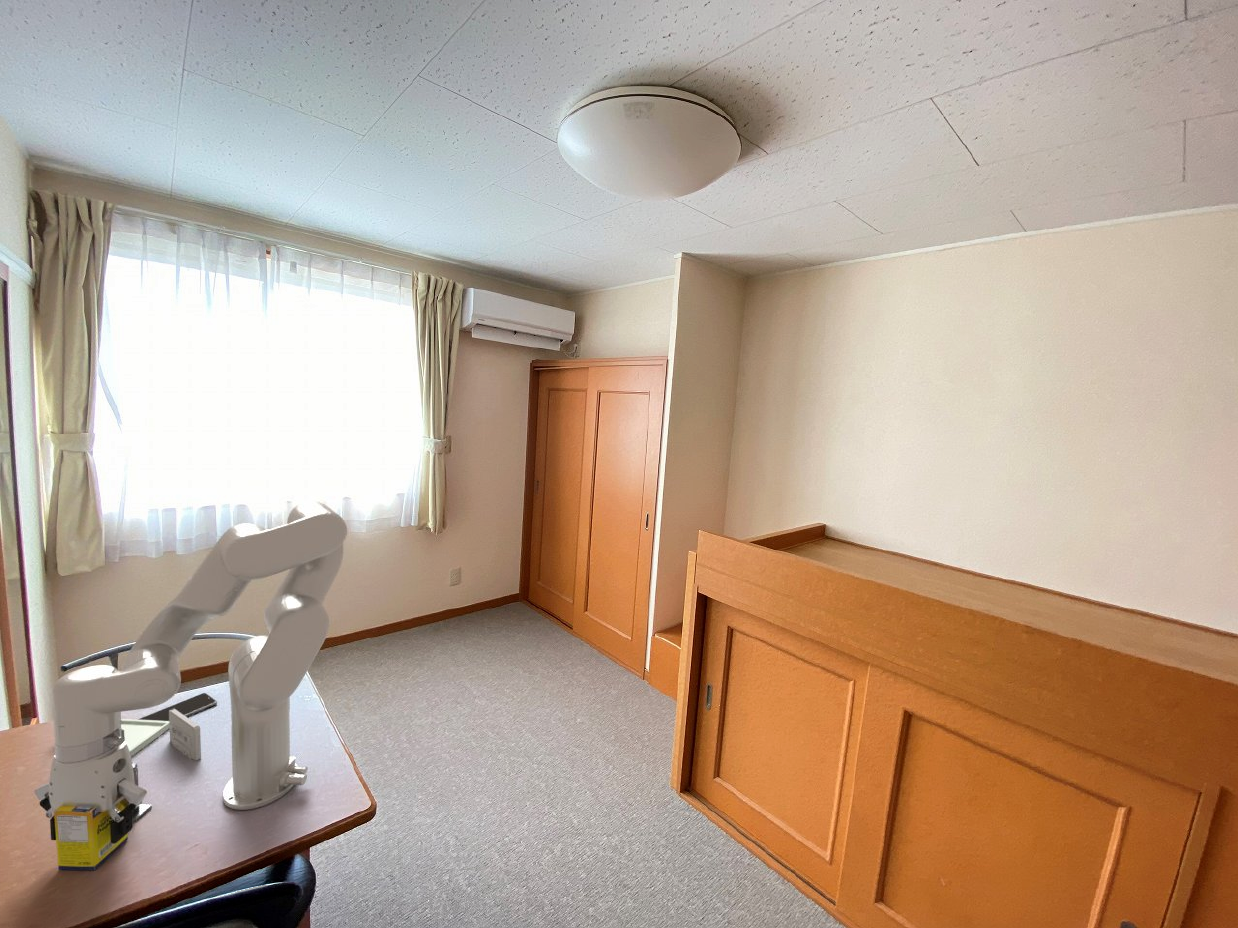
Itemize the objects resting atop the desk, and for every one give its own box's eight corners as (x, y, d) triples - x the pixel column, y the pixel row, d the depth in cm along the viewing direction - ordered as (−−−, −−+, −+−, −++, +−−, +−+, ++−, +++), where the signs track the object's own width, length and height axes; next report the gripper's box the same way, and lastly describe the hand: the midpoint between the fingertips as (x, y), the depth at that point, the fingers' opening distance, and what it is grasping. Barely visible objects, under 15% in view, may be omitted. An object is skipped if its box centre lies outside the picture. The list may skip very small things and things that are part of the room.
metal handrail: (154, 813, 93) (152, 767, 92) (104, 835, 88) (101, 787, 86) (135, 760, 105) (133, 718, 104) (90, 777, 100) (87, 733, 99)
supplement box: (129, 839, 87) (126, 783, 86) (94, 871, 81) (90, 812, 80) (94, 838, 87) (90, 782, 86) (57, 870, 81) (52, 810, 80)
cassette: (204, 757, 107) (203, 725, 106) (193, 762, 106) (192, 729, 105) (177, 737, 113) (176, 706, 112) (166, 742, 111) (165, 710, 110)
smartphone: (121, 725, 114) (205, 691, 128) (121, 729, 114) (205, 695, 128) (133, 737, 111) (218, 701, 125) (133, 741, 111) (218, 705, 125)
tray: (171, 726, 116) (171, 721, 116) (121, 763, 104) (121, 757, 104) (119, 723, 115) (119, 718, 115) (63, 760, 103) (62, 754, 103)
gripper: (162, 730, 86) (164, 819, 88) (60, 724, 85) (64, 813, 87) (120, 761, 78) (123, 857, 80) (8, 754, 78) (13, 851, 80)
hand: (92, 834), depth 84 cm, fingers open, 9 cm apart
